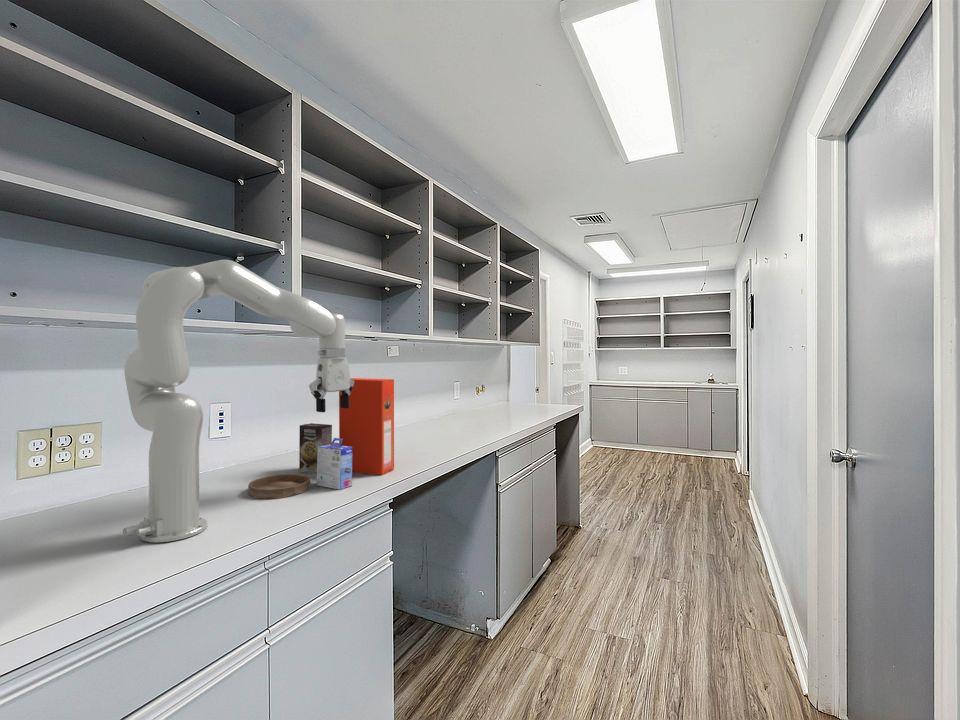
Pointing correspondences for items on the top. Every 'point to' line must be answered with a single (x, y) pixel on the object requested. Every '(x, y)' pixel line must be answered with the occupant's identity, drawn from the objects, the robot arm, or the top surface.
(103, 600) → the top surface
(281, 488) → the round tray
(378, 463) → the file binder
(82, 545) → the top surface
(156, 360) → the robot arm
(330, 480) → the ink cartridge box
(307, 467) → the coffee box
